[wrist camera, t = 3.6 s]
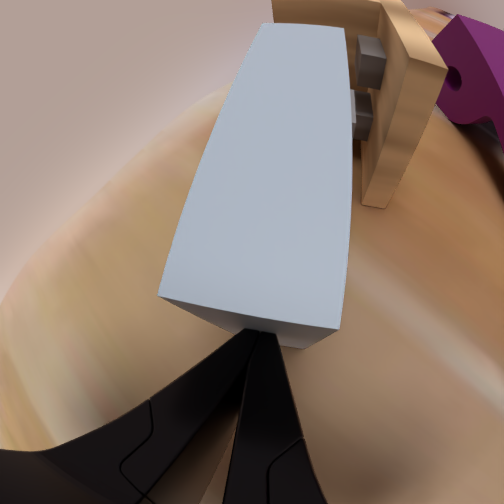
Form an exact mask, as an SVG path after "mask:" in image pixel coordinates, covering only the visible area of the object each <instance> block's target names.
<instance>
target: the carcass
mask: <svg viewBox="0 0 504 504" xmlns="http://www.w3.org/2000/svg"><path fill="white" fill-rule="evenodd" d="M271 1H272V9H273V18H274V23H292V24H309V25H321V26H331V27H339V28H344V33H345V41H346V49H347V59H348V69H349V82H350V89H351V90H354V97H355V112H356V126H355V131H354V136H353V139H356V140H361V165H362V200H361V205H366V206H372V207H378V208H383V209H385V208H386V206H387V204H388V202H389V201H390V199H391V197H392V195H393V193H394V191H395V189H396V187H397V185H398V184H399V182H400V180H401V178H402V176H403V174H404V172H405V170H406V168H407V166H408V164H409V162H410V159H411V157H412V155H413V153H414V151H415V149H416V147H417V145H418V143H419V140H420V138H421V136H422V134H423V131H424V129H425V127H426V125H427V122H428V120H429V118H430V115H431V113H432V111H433V108H434V106H435V103H436V101H437V98H438V96H439V93H440V91H441V88H442V85H443V83H444V80H445V77H446V74H447V72H448V68H447V66H446V65H445V63H444V61H443V59H442V58H441V56H440V54H439V53H438V51H437V50H436V48H435V47H434V45H433V43H432V42H431V40H430V39H429V37H428V36H427V35H426V33H425V32H424V30H423V29H422V27H421V26H420V25H419V23H418V22H417V21H416V19H415V18H414V17H413V15H412V14H411V13H410V11H409V10H408V9H407V8H406V6H405V5H404V4H403V3H402V2H401V0H271Z"/></svg>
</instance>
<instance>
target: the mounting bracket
mask: <svg viewBox="0 0 504 504" xmlns="http://www.w3.org/2000/svg"><path fill="white" fill-rule="evenodd" d="M432 43H433V45H434V47H435V48H436V50H437V51H438V53H439V54H440V56H441V58H442V59H443V61H444V63H445V65H446V66H447V68H448V72H447V74H446V77H445V80H444V83H443V85H442V88H441V91H440V93H439V96H438V98H437V101H436V104H437V105H438V107H439V108H440V109H441V110H442V112H443V113H444V114H445V115H446V117H447V118H448V119H449V120H451V121H452V122H455V123H458V124H483V123H486V122H489V121H491V120H492V121H493V123H494V125H495V128H496V131H497V134H498V137H499V140H500V143H501V146H502V150H503V153H504V31H502V30H500V29H497V28H495V27H492V26H490V25H487V24H485V23H482V22H479V21H477V20H474V19H471V18H467V17H465V16H462V15H458V14H457V15H456V16H455V17H454V18H453V19H452V20H451V21H450V22H449V23H448V24H447V26H446V27H445V28H444V29H443V30H442V31H441V32H440V33H439V34H438V35H437V36H436V37H435V38H434V39H433V40H432ZM461 79H462V80H461Z"/></svg>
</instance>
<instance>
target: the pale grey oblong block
mask: <svg viewBox="0 0 504 504" xmlns="http://www.w3.org/2000/svg"><path fill="white" fill-rule="evenodd" d="M355 126H356V112H355V97H354V90H351V89H350V82H349V69H348V59H347V49H346V41H345V33H344V28H339V27H331V26H321V25H309V24H292V23H263V24H262V25H261V27H260V29H259V31H258V33H257V35H256V37H255V39H254V41H253V43H252V44H251V46H250V49H249V50H248V53H247V55H246V57H245V59H244V61H243V63H242V65H241V67H240V69H239V71H238V73H237V76H236V78H235V80H234V82H233V84H232V86H231V89H230V91H229V93H228V95H227V98H226V100H225V102H224V104H223V107H222V109H221V111H220V114H219V116H218V119H217V121H216V123H215V126H214V128H213V131H212V133H211V136H210V138H209V141H208V143H207V146H206V148H205V151H204V153H203V156H202V159H201V161H200V164H199V166H198V169H197V172H196V175H195V177H194V180H193V183H192V186H191V188H190V191H189V194H188V197H187V200H186V203H185V206H184V209H183V212H182V214H181V217H180V221H179V224H178V227H177V230H176V233H175V236H174V239H173V242H172V246H171V249H170V252H169V256H168V259H167V262H166V266H165V269H164V273H163V276H162V280H161V283H160V287H159V290H158V294H157V296H159V297H161V298H163V299H164V300H166V301H168V302H170V303H172V304H174V305H176V306H178V307H180V308H182V309H184V310H186V311H188V312H190V313H192V314H194V315H196V316H198V317H200V318H202V319H204V320H206V321H208V322H210V323H212V324H214V325H216V326H218V327H221V328H223V329H225V330H227V331H229V332H231V333H233V334H237V333H239V332H240V331H241V330H242V329H244V328H248V329H253V330H258V331H260V332H261V331H264V332H269V333H275V334H276V335H277V338H278V341H279V345H282V346H288V347H294V348H300V349H305V348H307V347H309V346H311V345H313V344H315V343H316V342H318V341H320V340H322V339H324V338H325V337H327V336H329V335H331V334H332V333H334V332H336V331H337V330H339V328H340V321H341V314H342V306H343V299H344V290H345V281H346V272H347V261H348V250H349V236H350V220H351V199H352V141H353V136H354V131H355Z"/></svg>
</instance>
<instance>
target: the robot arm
mask: <svg viewBox="0 0 504 504" xmlns="http://www.w3.org/2000/svg"><path fill="white" fill-rule="evenodd" d="M236 425H237V427H236ZM235 427H236V432H235V438H234V443H233V449H232V454H231V460H230V465H229V471H228V476H227V481H226V487H225V492H224V497H223V502H222V504H328V503H327V501H326V499H325V496H324V494H323V492H322V489H321V487H320V484H319V482H318V479H317V477H316V474H315V472H314V469H313V465H312V462H311V459H310V456H309V453H308V449H307V445H306V441H305V439H304V438H303V437H304V435H303V431H302V427H301V423H300V420H299V416H298V412H297V408H296V405H295V401H294V397H293V394H292V390H291V386H290V382H289V379H288V375H287V371H286V367H285V364H284V360H283V356H282V353H281V349H280V345H279V341H278V338H277V335H276V334H275V333H269V332H264V331H261V332H260V331H258V330H253V329H248V328H244V329H242V330H241V331H240V332H239V333H237V334H236V335H235V336H233V337H232V338H231V339H230V340H228V341H227V342H226V343H224V344H223V345H222V346H220V347H219V348H218V349H216V350H215V351H214V352H212V353H211V354H210V355H208V356H207V357H206V358H204V359H203V360H202V361H200V362H199V363H198V364H196V365H195V366H194V367H192V368H191V369H190V370H188V371H187V372H185V373H184V374H183V375H181V376H180V377H178V378H177V379H176V380H174V381H173V382H171V383H170V384H169V385H167V386H166V387H164V388H163V389H162V390H160V391H159V392H157V393H156V394H154V395H153V396H151V397H150V400H149V399H147V400H145V401H144V402H143V403H141V404H140V405H138V406H137V407H135V408H133V409H132V410H130V411H129V412H127V413H125V414H124V415H122V416H121V417H119V418H117V419H115V420H113V421H111V422H109V423H108V424H106V425H104V426H102V427H100V428H98V429H95V430H93V431H91V432H89V433H87V434H85V435H82V436H80V437H78V438H76V439H73V440H71V441H69V442H66V443H64V444H62V445H59V446H57V447H54V448H51V449H47V450H42V451H15V450H5V449H0V504H199V503H200V501H201V499H202V497H203V495H204V493H205V491H206V489H207V487H208V485H209V483H210V481H211V479H212V477H213V475H214V473H215V471H216V469H217V466H218V464H219V462H220V460H221V458H222V456H223V454H224V452H225V449H226V447H227V445H228V443H229V441H230V439H231V436H232V434H233V432H234V430H235Z"/></svg>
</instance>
